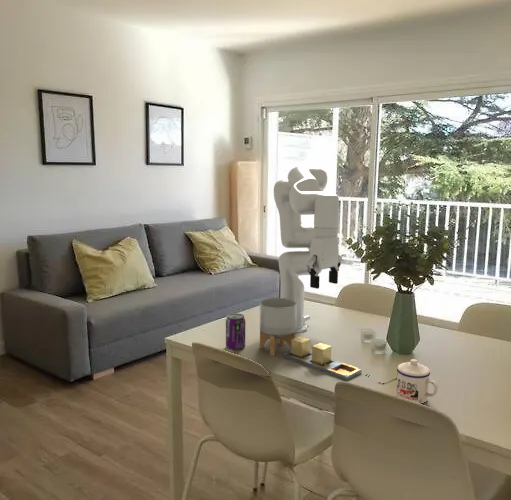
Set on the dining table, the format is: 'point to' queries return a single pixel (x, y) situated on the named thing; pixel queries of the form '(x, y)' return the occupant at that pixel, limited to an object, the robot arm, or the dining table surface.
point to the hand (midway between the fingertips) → (324, 285)
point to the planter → (277, 322)
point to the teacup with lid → (414, 382)
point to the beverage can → (235, 331)
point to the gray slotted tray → (328, 367)
